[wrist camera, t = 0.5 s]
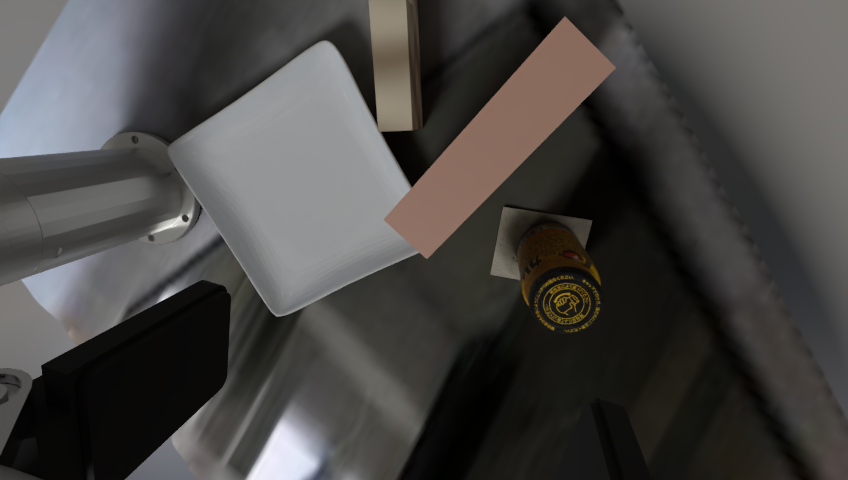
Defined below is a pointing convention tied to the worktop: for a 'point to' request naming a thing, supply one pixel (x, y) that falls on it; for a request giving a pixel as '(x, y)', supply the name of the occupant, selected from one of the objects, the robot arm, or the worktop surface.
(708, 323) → the worktop surface
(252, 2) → the worktop surface
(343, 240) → the salad plate
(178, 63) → the worktop surface
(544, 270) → the condiment
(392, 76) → the birch rail
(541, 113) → the pink rectangular slab
